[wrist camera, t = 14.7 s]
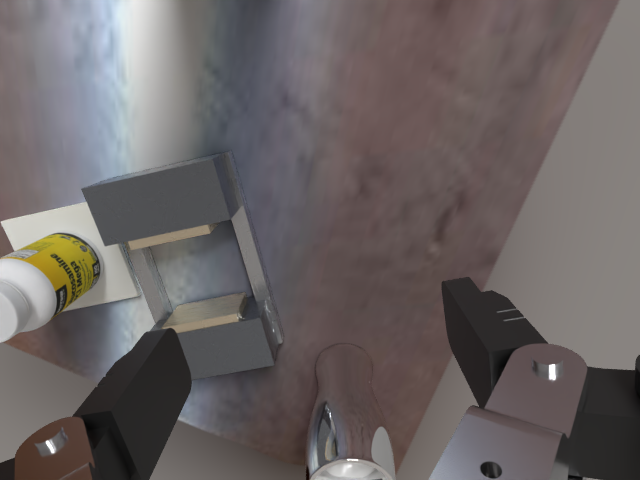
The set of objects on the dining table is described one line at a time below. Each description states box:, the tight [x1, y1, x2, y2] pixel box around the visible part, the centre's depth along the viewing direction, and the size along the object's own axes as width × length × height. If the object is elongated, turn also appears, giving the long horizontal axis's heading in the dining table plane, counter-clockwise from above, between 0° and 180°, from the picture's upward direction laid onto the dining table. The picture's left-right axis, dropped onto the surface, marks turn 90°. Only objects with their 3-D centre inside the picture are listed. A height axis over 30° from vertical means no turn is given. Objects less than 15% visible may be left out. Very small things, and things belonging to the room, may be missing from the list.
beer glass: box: [305, 344, 395, 480], centre depth 37 cm, size 7×7×15 cm
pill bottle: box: [0, 232, 103, 343], centre depth 35 cm, size 6×6×11 cm
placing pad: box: [1, 202, 141, 312], centre depth 40 cm, size 10×10×1 cm
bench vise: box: [81, 151, 284, 380], centre depth 38 cm, size 19×12×5 cm, turn 13°
